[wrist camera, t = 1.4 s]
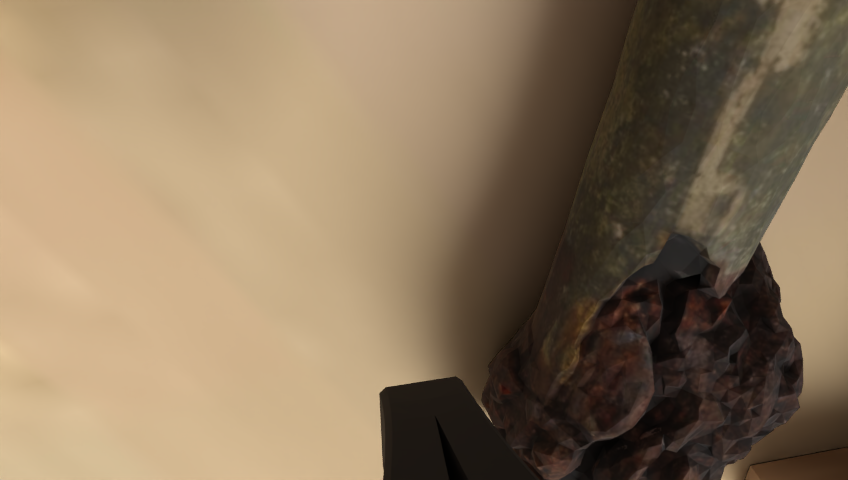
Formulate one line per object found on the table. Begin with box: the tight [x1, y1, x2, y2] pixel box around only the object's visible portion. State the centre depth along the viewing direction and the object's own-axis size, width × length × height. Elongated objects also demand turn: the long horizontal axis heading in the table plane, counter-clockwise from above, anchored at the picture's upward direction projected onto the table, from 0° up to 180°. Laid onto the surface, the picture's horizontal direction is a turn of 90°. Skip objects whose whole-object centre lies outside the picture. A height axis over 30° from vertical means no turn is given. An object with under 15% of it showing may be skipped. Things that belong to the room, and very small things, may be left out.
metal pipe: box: [482, 0, 848, 480], centre depth 17 cm, size 18×7×6 cm, turn 166°
